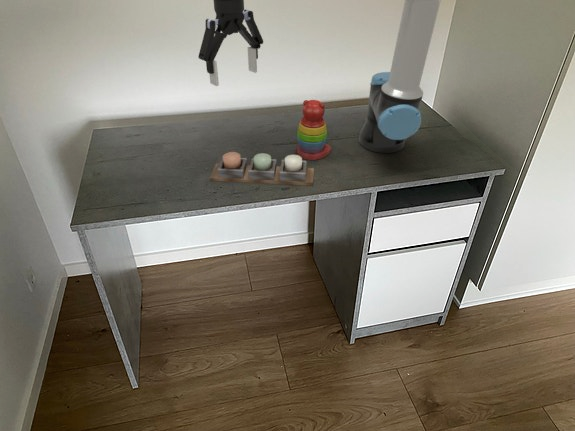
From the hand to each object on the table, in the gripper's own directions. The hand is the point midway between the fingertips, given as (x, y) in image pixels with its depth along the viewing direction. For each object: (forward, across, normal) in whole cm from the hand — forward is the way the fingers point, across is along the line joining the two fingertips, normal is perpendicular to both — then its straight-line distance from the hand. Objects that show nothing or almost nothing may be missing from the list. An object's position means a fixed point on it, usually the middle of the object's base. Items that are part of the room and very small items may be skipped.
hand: (234, 77), depth 129 cm
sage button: (+24, 0, +11) cm, 26 cm away
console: (+27, 0, +11) cm, 29 cm away
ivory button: (+24, -6, +17) cm, 30 cm away
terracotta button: (+24, +6, +4) cm, 25 cm away
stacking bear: (+28, -20, +11) cm, 36 cm away
